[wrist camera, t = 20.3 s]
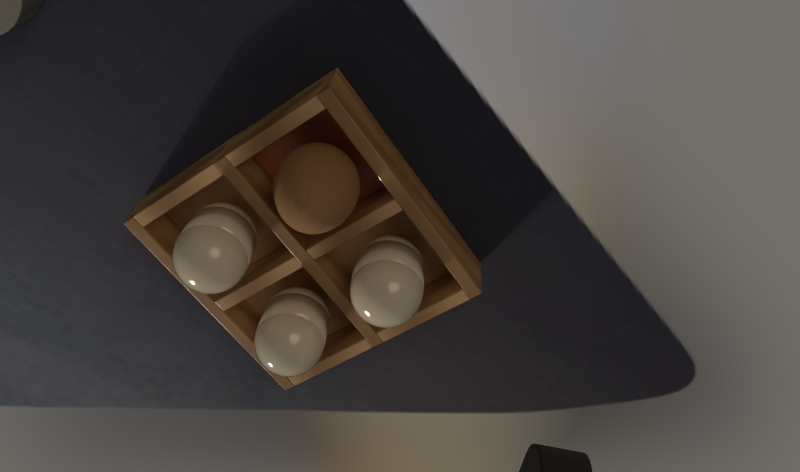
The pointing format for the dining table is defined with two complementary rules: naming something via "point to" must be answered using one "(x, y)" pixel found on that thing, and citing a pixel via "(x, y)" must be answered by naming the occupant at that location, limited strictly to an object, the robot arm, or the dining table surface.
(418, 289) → the cream egg
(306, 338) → the cream egg
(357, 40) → the dining table surface
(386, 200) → the egg tray
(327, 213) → the egg
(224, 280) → the cream egg
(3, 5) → the grey short cylinder
